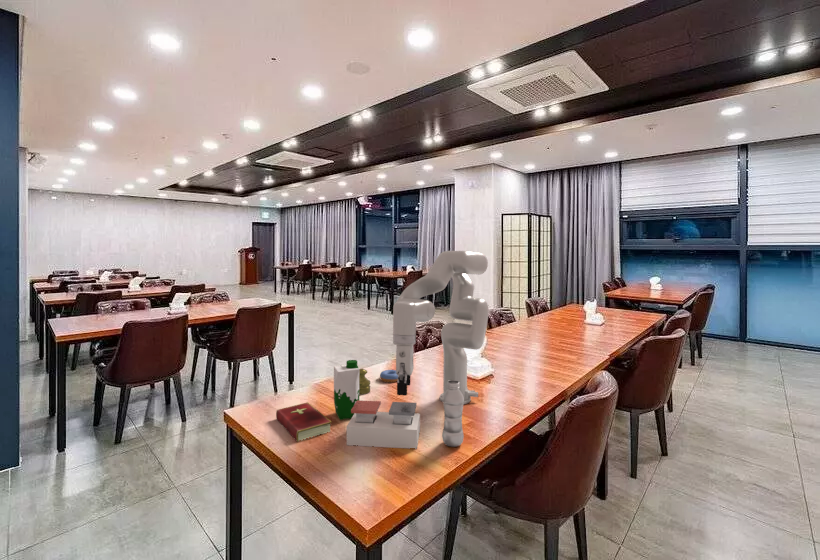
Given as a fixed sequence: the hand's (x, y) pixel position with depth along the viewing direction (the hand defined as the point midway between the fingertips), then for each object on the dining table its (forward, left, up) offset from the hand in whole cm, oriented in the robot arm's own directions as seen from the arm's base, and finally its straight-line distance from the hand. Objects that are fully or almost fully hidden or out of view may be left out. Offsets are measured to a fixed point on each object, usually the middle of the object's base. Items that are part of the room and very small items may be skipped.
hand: (403, 389), depth 128 cm
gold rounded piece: (+23, -35, -15) cm, 45 cm away
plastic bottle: (-16, +7, -15) cm, 23 cm away
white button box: (+6, +5, -15) cm, 16 cm away
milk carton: (+23, -11, -15) cm, 29 cm away
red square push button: (+12, +5, -11) cm, 16 cm away
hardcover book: (+36, -1, -15) cm, 39 cm away
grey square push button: (0, +5, -11) cm, 11 cm away
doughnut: (+13, -52, -15) cm, 56 cm away
